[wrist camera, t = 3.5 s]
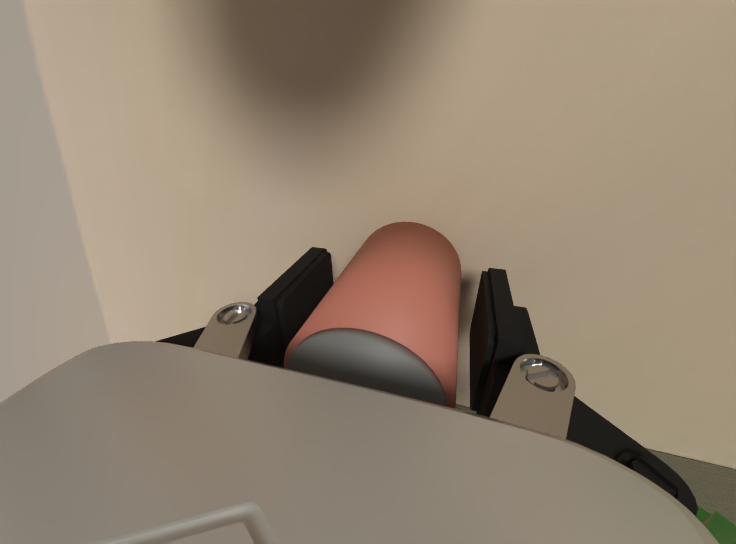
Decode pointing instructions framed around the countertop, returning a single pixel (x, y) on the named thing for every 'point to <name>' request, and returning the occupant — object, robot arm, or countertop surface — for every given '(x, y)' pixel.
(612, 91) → the countertop surface
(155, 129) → the countertop surface
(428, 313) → the oil can
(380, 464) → the robot arm
